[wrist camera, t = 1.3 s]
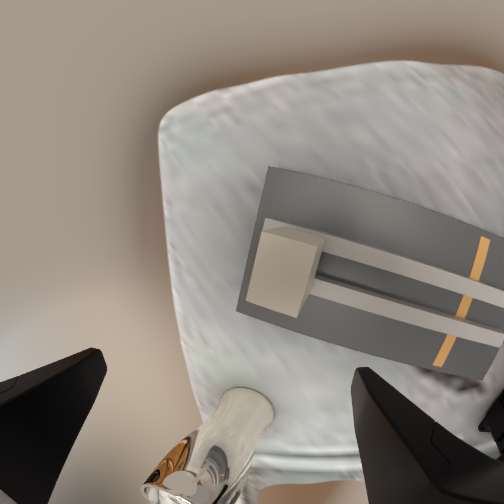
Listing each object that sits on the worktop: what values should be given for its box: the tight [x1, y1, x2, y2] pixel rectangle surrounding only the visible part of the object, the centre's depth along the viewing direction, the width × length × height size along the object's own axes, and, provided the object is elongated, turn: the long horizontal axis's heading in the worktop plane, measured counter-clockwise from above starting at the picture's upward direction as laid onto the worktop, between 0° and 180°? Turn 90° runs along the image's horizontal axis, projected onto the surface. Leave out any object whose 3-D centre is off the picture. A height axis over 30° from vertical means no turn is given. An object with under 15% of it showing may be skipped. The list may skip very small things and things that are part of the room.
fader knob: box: [246, 226, 325, 318], centre depth 18 cm, size 3×4×6 cm
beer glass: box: [140, 388, 274, 504], centre depth 20 cm, size 7×7×15 cm
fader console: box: [236, 166, 504, 380], centre depth 19 cm, size 24×12×3 cm, turn 77°
